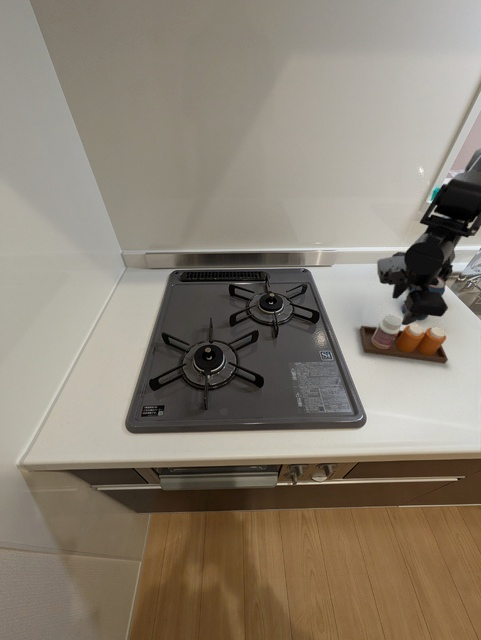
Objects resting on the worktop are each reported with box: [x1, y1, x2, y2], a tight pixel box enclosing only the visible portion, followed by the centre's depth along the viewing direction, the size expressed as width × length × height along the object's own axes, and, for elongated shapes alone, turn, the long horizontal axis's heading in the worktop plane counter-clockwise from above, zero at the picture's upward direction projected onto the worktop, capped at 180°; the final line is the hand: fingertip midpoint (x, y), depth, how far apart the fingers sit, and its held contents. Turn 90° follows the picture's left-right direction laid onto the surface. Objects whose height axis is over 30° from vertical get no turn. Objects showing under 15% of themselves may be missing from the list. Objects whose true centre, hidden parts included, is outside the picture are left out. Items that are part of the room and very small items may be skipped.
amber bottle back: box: [416, 326, 447, 355], centre depth 69 cm, size 4×4×6 cm
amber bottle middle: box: [396, 324, 425, 353], centre depth 69 cm, size 4×4×6 cm
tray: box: [359, 325, 449, 364], centre depth 71 cm, size 8×19×2 cm, turn 80°
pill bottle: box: [371, 313, 403, 349], centre depth 69 cm, size 5×5×8 cm
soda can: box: [401, 277, 447, 321], centre depth 77 cm, size 7×7×12 cm
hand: (399, 310), depth 64 cm, fingers open, 9 cm apart
